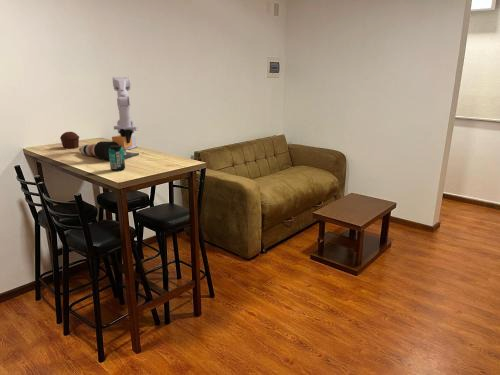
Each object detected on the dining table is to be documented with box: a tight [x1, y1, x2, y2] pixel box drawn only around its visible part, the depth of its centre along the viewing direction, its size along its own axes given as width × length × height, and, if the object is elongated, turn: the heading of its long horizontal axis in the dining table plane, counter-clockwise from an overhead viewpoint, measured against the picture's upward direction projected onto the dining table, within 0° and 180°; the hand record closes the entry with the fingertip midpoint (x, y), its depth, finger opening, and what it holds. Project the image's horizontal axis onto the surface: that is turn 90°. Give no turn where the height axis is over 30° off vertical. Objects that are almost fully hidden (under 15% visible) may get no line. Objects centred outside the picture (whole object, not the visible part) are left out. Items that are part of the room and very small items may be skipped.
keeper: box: [123, 149, 139, 160], centre depth 227 cm, size 14×11×4 cm
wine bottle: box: [78, 140, 118, 161], centre depth 226 cm, size 10×34×10 cm, turn 49°
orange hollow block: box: [111, 134, 132, 148], centre depth 225 cm, size 8×8×6 cm
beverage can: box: [109, 145, 126, 172], centre depth 196 cm, size 7×7×12 cm
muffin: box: [59, 131, 80, 150], centre depth 251 cm, size 12×11×10 cm
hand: (127, 142), depth 224 cm, fingers closed on orange hollow block
